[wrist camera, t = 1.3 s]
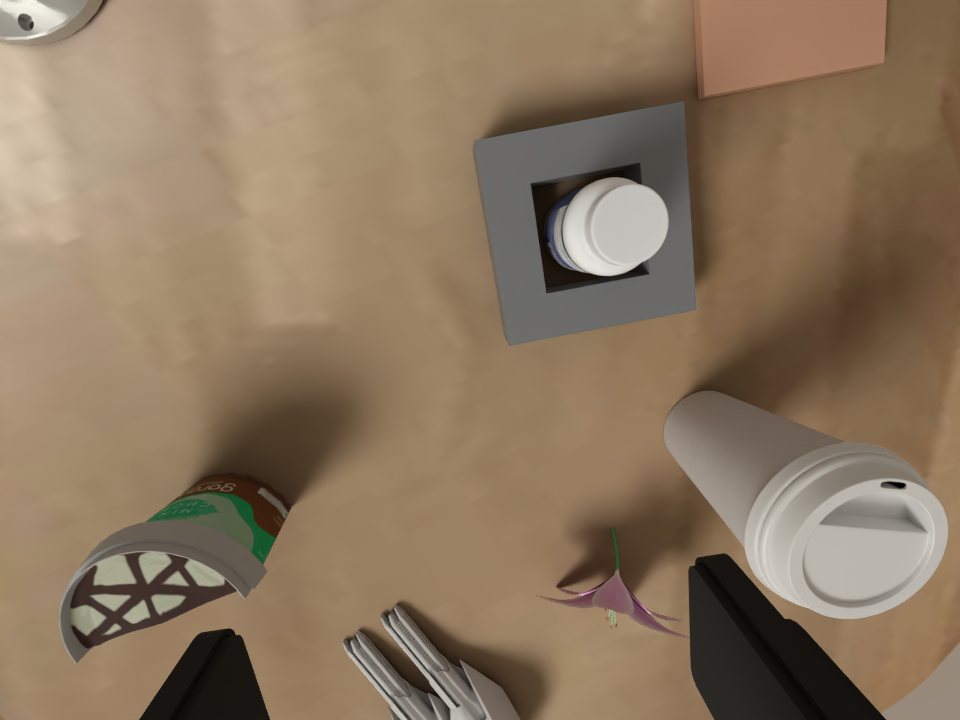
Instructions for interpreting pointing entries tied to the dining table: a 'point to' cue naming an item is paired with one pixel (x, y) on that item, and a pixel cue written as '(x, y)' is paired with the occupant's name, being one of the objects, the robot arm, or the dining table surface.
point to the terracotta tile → (783, 41)
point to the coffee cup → (811, 505)
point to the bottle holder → (573, 155)
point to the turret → (416, 715)
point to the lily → (616, 600)
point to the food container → (173, 561)
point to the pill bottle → (606, 227)
